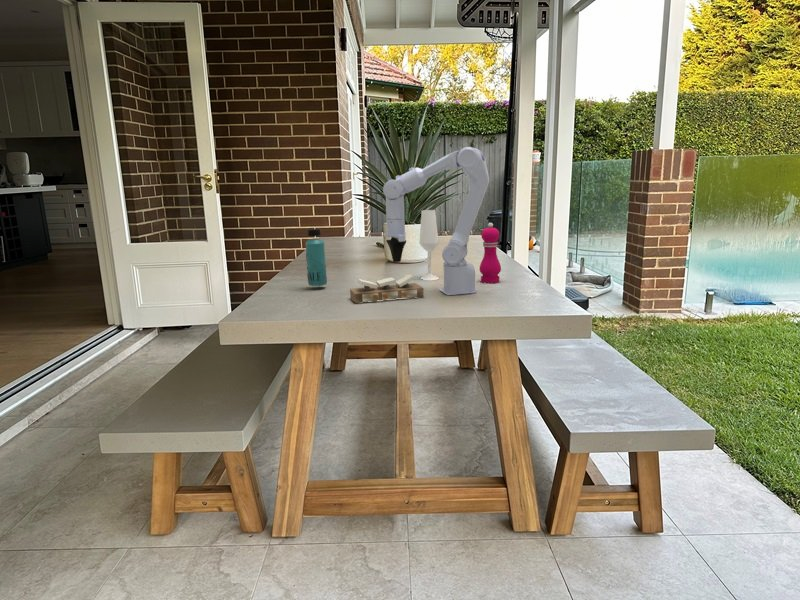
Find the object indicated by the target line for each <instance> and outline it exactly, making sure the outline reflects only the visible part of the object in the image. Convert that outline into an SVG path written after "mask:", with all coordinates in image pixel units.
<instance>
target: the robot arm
mask: <svg viewBox="0 0 800 600" xmlns="http://www.w3.org/2000/svg"><path fill="white" fill-rule="evenodd" d="M450 168H461V169H462V170H464V172H465V173H466V174H467V176H468V178H469V179H470V181H471V184H470V187H469V190H468V193H467V195H466V198H465V201H464V204H463V206H462V210H461V212H460V215H459V217H458V220H457V223H456V226H455V229H454V232H453V234H452V236H451V237H450V240H449V242H448V244H447V245H446V246H445V247H444V249H442V252H441V253H442V254H441V256H442V259H443V261H444V262H443V288H439V292H441V293H443V294H445V295H446V296H454V295H465V294H474V293H477V291H476V269H475V266H474V264H473V263H470V262H469V263H468V262H467V261H466V259H465V258H466V257H467V255H468V243H469V239H470V235H471V233H472V229H473V226H474V224H475V221H476V220H477V217H478V214H479V211H480V208H481V205H482V203H483V199H484V197H485V195H486V192H487V189H488V186H489V184H490V176H489V171H488V166H487V159H486V157H485V156H484V154H483V152H482V151H481V150H480V149H478V148H476V147H471V146H465V147H463V148H461V149H460V150H459V149H458V150H456V151H453V152H451V153H448V154H446V155H444V156H443V157H441V158H440V159H437V160H435V161H434V162H433V163H430V164H428V165H427V166H425V167H424V168H421V167H415V168H414V167H410V168H408V171H407V172H405V173H403V174H401V175H400V174H399V175H396V176H395V179H389V180H388V181H386V182H385V184H384V185H383V187H382V191H383V195H384V196H385V216H386V218H385V221H386V232H384V233H383V236H384V237H387V238H390V239H386V240H385V241H386V243H387V246H388V247H389V250H390V254H391V258H392V261H393V263H400V262H401V261H402V256H403V251H404V248H405V247H406V246H405V245H406V243H407V240H406V234H407V233H406V223H405V200H404V199H405V197H404V196H405V195H406V194H408V193H411V192H412V191H415V190H416V189H419V188H421V187H423V186H425V185H426V182H427V180H428V179H429V178H431V177H433V176H435V175H436V174H439V173H441V172H443V171H446V170H448V169H450Z"/></svg>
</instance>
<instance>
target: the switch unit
mask: <svg viewBox="0 0 800 600" xmlns="http://www.w3.org/2000/svg"><path fill="white" fill-rule="evenodd" d="M349 294H350V296H349V297H351V298H350V299H351V300H352V302H353V301H354V302H355V303H360V302H368V301H377V300H386V299H396V298H413V299H416V298H415V297H424V287H423V286H421V285H419V284H418V283H416V282H413V283H411V282H408V283H407V284H405V285H403V286H402V287H399V286H398V285H396V284H389V285H385V286H381V287H380V286H378V285H377V288H373V287H369V286H364V285H363V287H354V288H353V287H352V288H349ZM354 302H353V303H354ZM355 303H354V304H355ZM360 304H361V303H360Z"/></svg>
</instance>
